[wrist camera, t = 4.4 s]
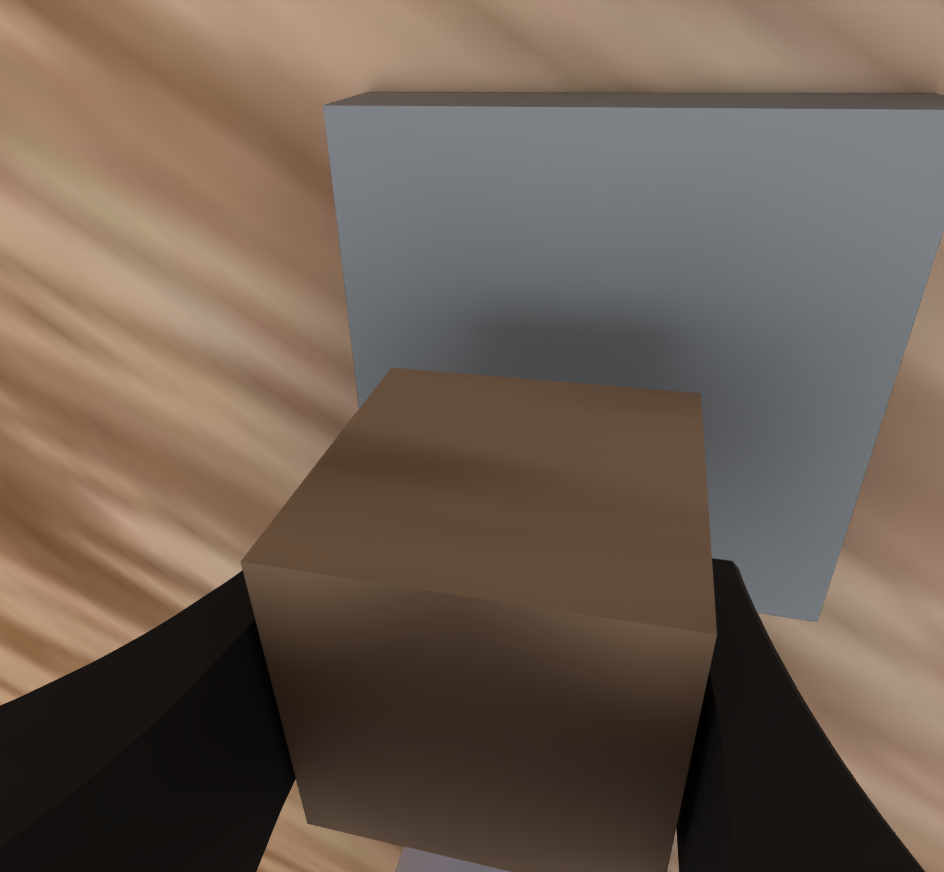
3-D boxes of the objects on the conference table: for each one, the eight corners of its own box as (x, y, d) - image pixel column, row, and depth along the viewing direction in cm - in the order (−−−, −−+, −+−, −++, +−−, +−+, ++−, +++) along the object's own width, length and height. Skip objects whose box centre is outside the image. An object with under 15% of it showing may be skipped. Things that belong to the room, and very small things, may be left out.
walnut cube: (664, 627, 13) (659, 906, 9) (412, 589, 15) (307, 823, 10) (700, 392, 11) (717, 634, 7) (391, 367, 12) (240, 561, 8)
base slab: (803, 558, 20) (817, 622, 18) (404, 503, 23) (376, 554, 21) (938, 93, 14) (981, 110, 12) (367, 91, 17) (322, 105, 15)
